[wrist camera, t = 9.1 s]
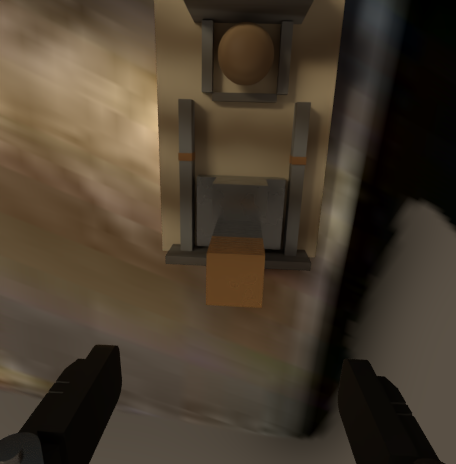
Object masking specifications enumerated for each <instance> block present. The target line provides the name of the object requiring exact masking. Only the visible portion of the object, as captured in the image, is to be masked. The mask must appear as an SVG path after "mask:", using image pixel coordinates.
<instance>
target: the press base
mask: <svg viewBox="0 0 456 464" xmlns="http://www.w3.org/2000/svg"><path fill="white" fill-rule="evenodd" d="M344 5H345V0H154V7H155V37H156V67H157V97H158V127H159V156H160V186H161V216H162V246H163V251H168V253H167V254H166V264H182V265H203V266H206V260H207V250H208V247H209V246H197V176H198V175H224V176H251V177H279V178H285V179H286V183H285V196H284V208H283V221H282V233H281V245H280V250H274V249H264V251H265V266H264V268H265V269H286V270H307V271H310V267H311V262H310V260H309V257H313V258H315V256H316V247H317V238H318V230H319V221H320V212H321V204H322V195H323V187H324V178H325V169H326V161H327V152H328V143H329V135H330V126H331V117H332V109H333V100H334V92H335V83H336V74H337V66H338V57H339V48H340V40H341V31H342V22H343V14H344ZM241 22H252V23H255V24H258V25H260V26H261V27H262V28H264V29H265V30H266V31H267V33H268V34H269V36H270V38H271V40H272V42H273V46H274V60H273V64H272V66H271V69H270V71H269V72H268V74H267V75H266V76H265V77H264V78H263V79H262V80H261V81H259V82H257V83H255V84H253V85H248V86H243V85H238V84H235V83H233V82H232V81H230V80H229V79H228V78H227V77H226V76H225V75H224V74H223V72H222V70H221V68H220V65H219V61H218V48H219V44H220V41H221V39H222V37H223V35H224V34H225V33H226V31H227V30H228V29H229V28H231V27H232V26H234V25H235V24H238V23H241Z"/></svg>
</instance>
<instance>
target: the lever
mask: <svg viewBox="0 0 456 464" xmlns="http://www.w3.org/2000/svg"><path fill="white" fill-rule="evenodd" d="M285 183H286V179H285V178H279V177H251V176H224V175H198V176H197V246H209V247H208V250H207V260H206V305H218V306H237V307H256V308H262V296H263V281H264V266H265V251H264V249H274V250H280V245H281V233H282V221H283V208H284V196H285Z"/></svg>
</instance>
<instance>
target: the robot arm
mask: <svg viewBox="0 0 456 464" xmlns="http://www.w3.org/2000/svg"><path fill="white" fill-rule="evenodd" d="M121 387H122V375H121V363H120V352H119V347H118V346H114V345H95V346H94V347H93V349H92V350H91V352H90V353H89V355H88V356H87V358H86V359H77V360H76V361H75V362H73V363H72V364H71V365H69V366H68V367H67V368H65V370H64V371H63V372H62V374H61V375H60V376H59V378H58V379H57V380H56V383H54V385H53V386H52V387H51V389H50V390H49V393H47V394H46V395H45V397H44V398H43V399H42V401H41V402H40V404H39V405H38V406H37V408H36V409H35V410H34V412H33V413H32V414H31V416H30V417H29V419H28V420H27V421H26V423H25V424H24V425H23V427H22V428H21V430H20V431H19V432H18V433H16V434H12V435H9V436H7V437H5V438H3V439H1V440H0V464H89V462H90V460H91V458H92V456H93V454H94V451H95V449H96V447H97V445H98V443H99V441H100V439H101V436H102V434H103V432H104V430H105V428H106V425H107V423H108V421H109V419H110V416H111V415H112V412H113V410H114V408H115V406H116V404H117V401H118V399H119V396H120V393H121ZM338 408H339V412H340V416H341V419H342V422H343V425H344V428H345V431H346V434H347V437H348V440H349V443H350V446H351V449H352V452H353V455H354V458H355V461H356V464H445V463H443V462H441V461H440V460H439V459H438V457H437V455H436V453H435V452H434V450H433V448H432V446H431V445H430V443H429V441H428V440H427V438H426V436H425V434H424V433H423V431H422V429H421V428H420V426H419V424H418V422H417V421H416V419H415V417H414V416H412V412H411V410H410V409H409V407H408V405H406V402H405V400H404V398H403V397H402V395H401V393H400V392H399V390H398V388H396V387H395V386H394V385H393V384H392V383H391V382H390V381H389V380H388V379H387V378H386V377H381V376H376V374H375V372H374V370H373V368H372V366H371V364H370V363H369V361H368V360H359V359H345V360H344V361H343V366H342V372H341V378H340V384H339V390H338Z"/></svg>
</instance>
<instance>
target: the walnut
mask: <svg viewBox="0 0 456 464" xmlns="http://www.w3.org/2000/svg"><path fill="white" fill-rule="evenodd" d="M273 60H274V46H273V42H272V40H271V38H270V36H269V34H268V33H267V31H266V30H265V29H264V28H262V27H261V26H260V25H258V24H255V23H252V22H241V23H238V24H235V25H234V26H232V27H231V28H229V29H228V30H227V31H226V33H225V34H224V35H223V37H222V39H221V41H220V44H219V48H218V61H219V65H220V68H221V70H222V72H223V74H224V75H225V76H226V77H227V78H228V79H229V80H230V81H232V82H233V83H235V84H238V85H243V86H248V85H253V84H255V83H257V82H259V81H261V80H262V79H263V78H264V77H265V76H266V75H267V74H268V72H269V71H270V69H271V66H272V64H273Z"/></svg>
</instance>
